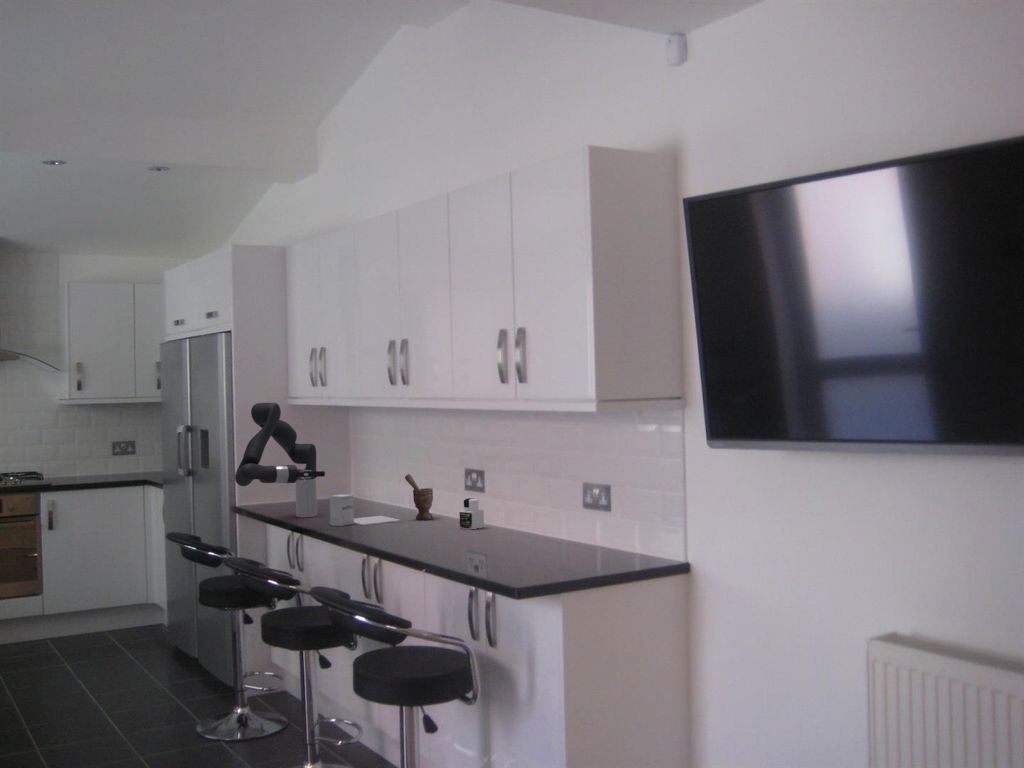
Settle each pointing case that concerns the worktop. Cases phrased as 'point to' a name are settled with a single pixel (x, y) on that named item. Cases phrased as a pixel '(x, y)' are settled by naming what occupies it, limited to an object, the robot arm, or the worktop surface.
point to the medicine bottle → (471, 515)
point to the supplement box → (341, 510)
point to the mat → (374, 520)
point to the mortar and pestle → (421, 499)
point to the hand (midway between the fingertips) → (320, 473)
